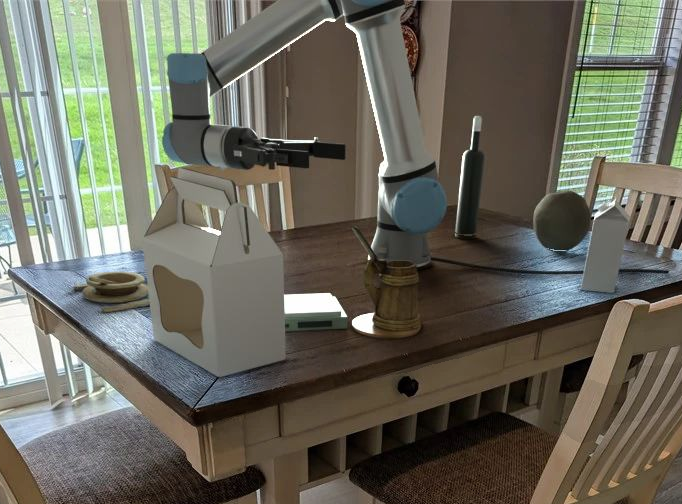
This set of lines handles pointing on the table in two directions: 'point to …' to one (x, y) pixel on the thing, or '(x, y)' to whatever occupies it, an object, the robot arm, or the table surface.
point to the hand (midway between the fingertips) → (327, 155)
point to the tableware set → (115, 289)
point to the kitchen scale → (313, 312)
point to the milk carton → (605, 248)
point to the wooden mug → (391, 290)
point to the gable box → (214, 279)
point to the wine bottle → (470, 185)
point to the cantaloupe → (561, 220)
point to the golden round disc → (368, 328)
